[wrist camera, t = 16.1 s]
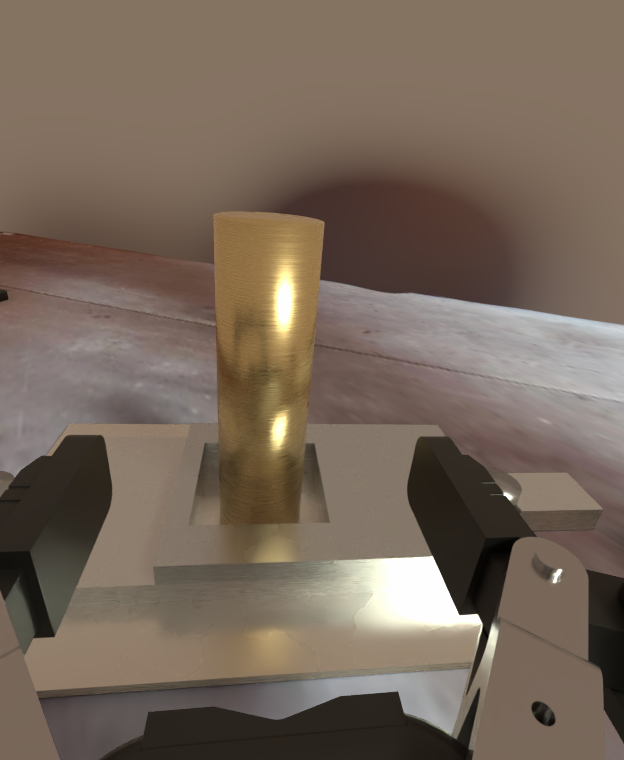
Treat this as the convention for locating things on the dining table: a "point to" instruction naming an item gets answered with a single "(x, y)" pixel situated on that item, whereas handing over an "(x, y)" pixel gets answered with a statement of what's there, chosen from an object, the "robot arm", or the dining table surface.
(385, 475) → the peg-in-hole plate
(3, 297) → the multimeter
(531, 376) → the dining table surface
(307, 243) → the pin
